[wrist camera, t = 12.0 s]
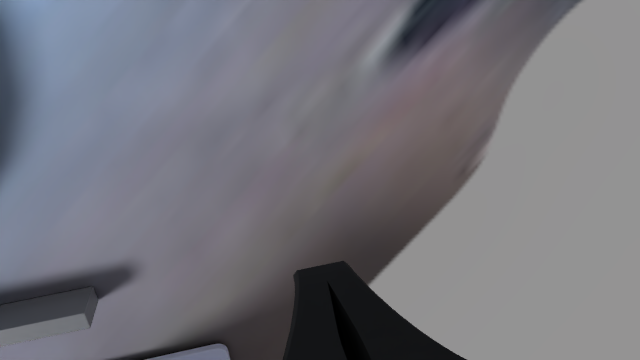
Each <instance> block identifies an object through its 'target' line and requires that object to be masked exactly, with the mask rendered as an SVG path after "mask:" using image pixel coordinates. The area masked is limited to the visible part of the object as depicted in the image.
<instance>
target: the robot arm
mask: <svg viewBox="0 0 640 360" xmlns="http://www.w3.org/2000/svg"><path fill="white" fill-rule="evenodd" d="M294 282H295V301H294V310H293V316H292V323H291V328H290V333H289V337H288V341H287V345H286V349H285V353H284V357H283V360H466V359H464V358H463V357H460V356H459V355H457V354H455V353H453V352H452V351H450V350H449V349H447V348H445V347H443V346H442V345H440V344H439V343H437V342H436V341H434V340H433V339H431V338H430V337H428V336H427V335H425V334H424V333H423V332H421V331H420V330H419V329H417V328H416V327H414V326H413V325H412V324H411V323H409V322H408V321H407V320H406V319H404V318H403V317H402V316H400V315H399V314H398V313H397V312H396V311H395V310H393V309H392V308H391V307H390V306H389V305H388V304H386V303H385V302H384V301H383V300H382V299H381V298H380V297H379V296H377V294H375V292H373V291H372V290H371V289H370V288H369V287H368V286H367V285H366V284H365V283H364V282H363V281H362V279H361V278H360V277H359V276H358V275H357V274H356V273H355V272H354V271H353V270H352V269H351V267H350V266H349V265H348V264H347V263H346V262H344V261H340V262H336V263H331V264H326V265H321V266H316V267H311V268H307V269H302V270H297V271H296V273H295V274H294ZM145 360H230V356H229V352H228V349H227V347H226V346H225V345H223V344H213V345H208V346H204V347H199V348H195V349H190V350H186V351H181V352H177V353H172V354H168V355H163V356H159V357H154V358H150V359H145Z"/></svg>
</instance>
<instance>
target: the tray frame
mask: <svg viewBox="0 0 640 360" xmlns="http://www.w3.org/2000/svg"><path fill="white" fill-rule="evenodd" d="M97 303H98V298H97V296H96V293H95V291H94V288H93V286H92V287H87V288H82V289H77V290H73V291H68V292H63V293H58V294H53V295H48V296H43V297H38V298H33V299H28V300H23V301H18V302H13V303H8V304H3V305H0V347H2V346H7V345H12V344H17V343H21V342H26V341H31V340H36V339H40V338H45V337H50V336H55V335H59V334H64V333H69V332H73V331H78V330H83V329H88V328H90V327H91V323H92V320H93V317H94V313H95V310H96V307H97Z"/></svg>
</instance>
